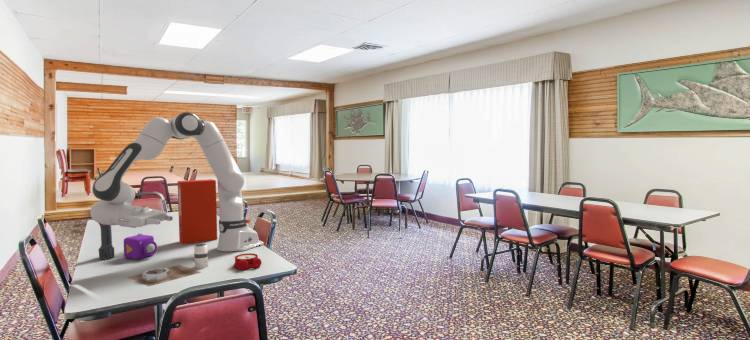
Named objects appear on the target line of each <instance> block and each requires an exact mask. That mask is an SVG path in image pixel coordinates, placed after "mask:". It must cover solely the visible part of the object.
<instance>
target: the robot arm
mask: <svg viewBox="0 0 750 340" xmlns="http://www.w3.org/2000/svg"><path fill="white" fill-rule="evenodd" d="M191 137H192V138H194V139H195V140H196V141H197V143H198V144H199V147H200V148H201V150H202V153H203V155H204V157H205V159H206V161H207V163H208V165H209V166H210V169H211V170H212V172H213V173H214V175H215V177H216V183H217V193H218V194H217V195H218V207H219V208H218V209H219V220H218V231H219V234H218V235H219V236H218V242H217V248H216V250H217V251H219V252H242V251H247V250H250V249H254V248H257V247H260V246H263V245H264V242H263V241H262V240H259V239H260V237H259V235H258V232H257V231H256V230H254V229H252V228H251V227H249V226H248V224H250V223H251V219H249V218H245V217H244V201H243V195H242V194H243V193H242V189H243V187H244V185H245V177H244V175H243V173H242V171H241V169H240V168H239V166H238V164H237V162H236V160H235V158H234V156H233V155H232V153H231V151H230V149H229V147H228V145H227V143H226V141H225V139H224V136H222V133H221V132H220V130H219V128H218V127H217V126H216V124H215V123H214V122H212V121H210V120H202V119H201V118H200V117H198V115H197V114H195V113H193V112H189V111H185V112H181V113H179V114H177V115H175V116H174V117H172V118H171V119H167V118H164V117H162V116H155V117H152V118H151V119H149V121H148V122H147V123H146V124H145V125H144V127H143V128H142V129H141V131H140V133H139V134H138V136H137V137H136V139H135V140H134V141H133V142H131V143H129V144H127V145H126V146H125V147H124V148H123V149H122V150H121V151H120V153H119V154H118V155H117V156H116V158H115V159H114V161H113V162H112V163H111V164H110V165H109V167H108V168H107V169H106V170H105V171H104V172H103V173H102V174H101V175H99V176H98V177H97V178H96V179H95V180H94V181H93V184H92V187H91V189H92V194H93V195H94V198H97V199H99V201H97V202H95V203H93V204H92V206H91V208H90V211H89V212H90V217H91V219H92V220H93V221H94V222H96V223H97V224H99V223H101V224H106V225H111V226H120V227H125V228H131V229H134V228H135V229H136V228H142V227H145V226H149V225H157V226H158V225H160V224H161V222H164V221H167V222H171V221H173V219H174V218H173V216H172V215H171V216H170V215H168V213H167V211H165V210H161V209H155V208H149V206H140V205H139V206H138V205H133V203H134V202H135V198H136V193H137V192H136V190H135V189H134V186H131V185H129V184H128V183H126V182H124V181H123V177H124V176H125V174H126V173H128V171H129V169H130V168H131V167H132V165H133V164H135V162H138V161H141V160H144V161H149V160H154V159H157V158H158V157H159V156H160V155H161V154H162V152H163V151H164V149H165V147H166V145H167V143H168V141H169V140H170V139H176V140H185V139H189V138H191ZM259 245H260V246H259ZM256 246H257V247H256Z"/></svg>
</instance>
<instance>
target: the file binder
mask: <svg viewBox="0 0 750 340" xmlns="http://www.w3.org/2000/svg"><path fill="white" fill-rule="evenodd" d="M177 202H178V203H177V206H178V207H177V208H178V209H177V210H178V231H179V232H178V233H179V235H178V236H179V242H180V243H181V245H186V244H194V243H195V244H196V243H200V242H202V241H203V242H208V241H209V240H210V241H216V240H215V239H217V240H218V217H217V216H218V213H217V212H218V211H217V179H212V178H209V179H208V178H207V179H193V180H177Z"/></svg>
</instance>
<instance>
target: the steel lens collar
mask: <svg viewBox="0 0 750 340" xmlns="http://www.w3.org/2000/svg"><path fill="white" fill-rule="evenodd" d="M167 268H168V267H156V268H152V269H148V270H145V271H144V272H142V273H141V274H142V280H143V281H146V282H157V281H161V280H165V279H168V278H169V277H170V269H167Z"/></svg>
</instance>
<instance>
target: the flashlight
mask: <svg viewBox="0 0 750 340" xmlns="http://www.w3.org/2000/svg"><path fill="white" fill-rule="evenodd" d="M98 225H99V227H100V243H101V244H100V247H99V248H98V257H99V259H100V260H104V259H105V260H110V259H112V258H114V257H115V247H114V246H113V236H112V233H113V232H112V225H106V224H101V223H98Z"/></svg>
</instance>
